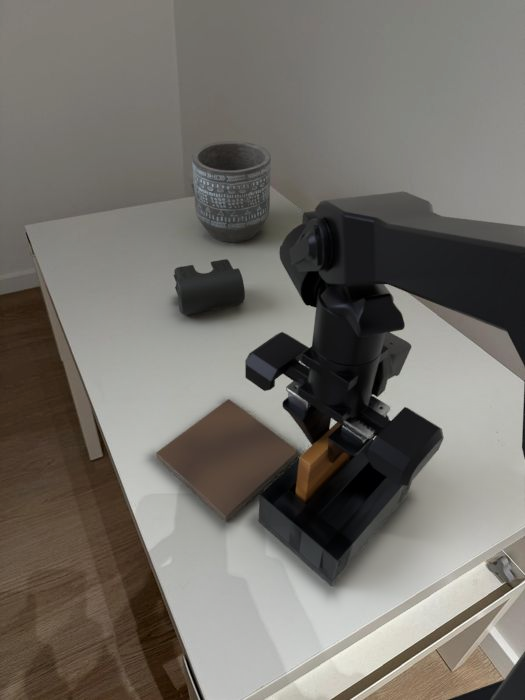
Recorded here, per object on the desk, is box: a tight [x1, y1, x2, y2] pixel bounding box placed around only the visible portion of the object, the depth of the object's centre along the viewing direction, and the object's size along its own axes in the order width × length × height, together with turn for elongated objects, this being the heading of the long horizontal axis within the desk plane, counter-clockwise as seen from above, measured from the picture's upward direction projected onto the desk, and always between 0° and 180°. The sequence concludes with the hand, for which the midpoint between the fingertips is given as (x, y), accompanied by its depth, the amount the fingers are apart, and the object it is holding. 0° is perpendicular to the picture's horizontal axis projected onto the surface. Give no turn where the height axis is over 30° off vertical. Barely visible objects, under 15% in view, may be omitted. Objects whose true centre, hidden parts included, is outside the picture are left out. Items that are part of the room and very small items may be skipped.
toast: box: [295, 422, 351, 505], centre depth 54 cm, size 1×8×8 cm, turn 137°
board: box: [155, 399, 299, 523], centre depth 62 cm, size 12×12×1 cm
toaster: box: [258, 438, 413, 587], centre depth 56 cm, size 10×15×6 cm, turn 137°
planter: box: [191, 140, 272, 243], centre depth 97 cm, size 14×14×15 cm
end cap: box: [173, 258, 246, 316], centre depth 82 cm, size 10×7×7 cm
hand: (327, 454), depth 53 cm, fingers closed on toast, 1 cm apart
